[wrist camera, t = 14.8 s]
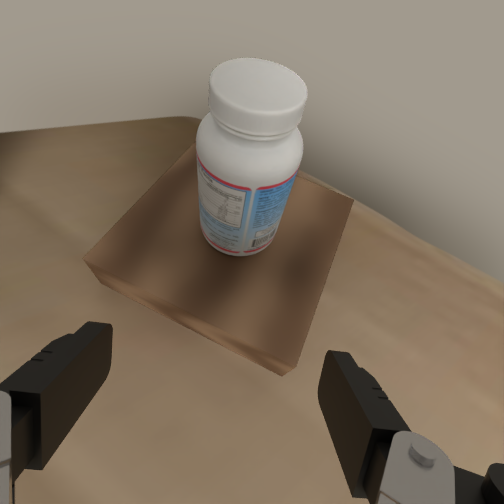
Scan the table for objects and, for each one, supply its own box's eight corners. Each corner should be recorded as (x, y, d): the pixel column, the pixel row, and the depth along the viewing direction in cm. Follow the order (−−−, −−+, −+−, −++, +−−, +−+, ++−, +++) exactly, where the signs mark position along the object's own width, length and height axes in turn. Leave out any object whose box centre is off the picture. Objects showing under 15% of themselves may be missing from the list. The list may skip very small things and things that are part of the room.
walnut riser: (101, 283, 23) (82, 258, 19) (201, 167, 31) (200, 135, 28) (281, 376, 21) (295, 366, 17) (337, 225, 29) (353, 199, 26)
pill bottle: (267, 196, 25) (305, 53, 15) (281, 256, 22) (341, 125, 12) (196, 198, 23) (190, 44, 14) (201, 262, 20) (197, 121, 11)
